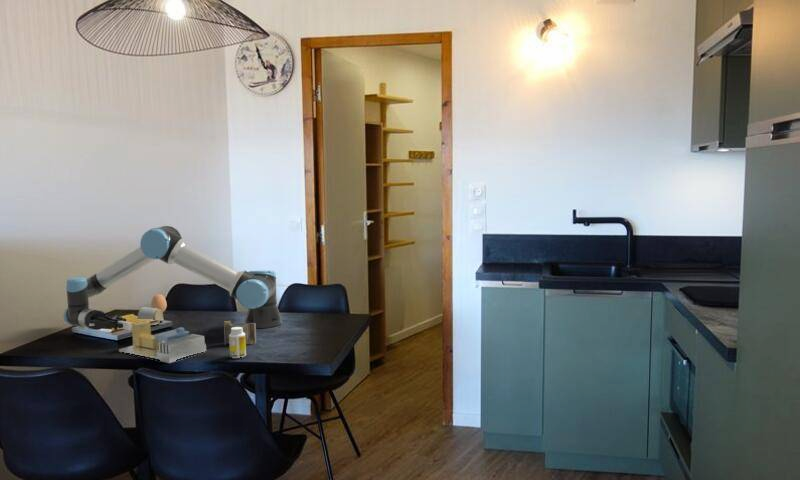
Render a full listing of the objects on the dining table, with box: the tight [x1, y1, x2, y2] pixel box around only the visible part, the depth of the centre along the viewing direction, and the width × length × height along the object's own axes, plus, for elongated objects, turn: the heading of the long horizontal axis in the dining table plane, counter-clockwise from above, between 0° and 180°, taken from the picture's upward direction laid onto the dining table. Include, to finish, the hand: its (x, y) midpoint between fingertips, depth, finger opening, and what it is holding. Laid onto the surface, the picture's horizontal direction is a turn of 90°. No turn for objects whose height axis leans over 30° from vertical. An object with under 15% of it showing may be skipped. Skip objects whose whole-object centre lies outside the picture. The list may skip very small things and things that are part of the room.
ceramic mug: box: [137, 306, 164, 321], centre depth 282 cm, size 11×8×8 cm
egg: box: [150, 293, 168, 314], centre depth 302 cm, size 7×7×9 cm
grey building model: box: [118, 326, 207, 364], centre depth 238 cm, size 28×16×8 cm, turn 57°
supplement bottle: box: [228, 327, 247, 359], centre depth 230 cm, size 6×6×10 cm
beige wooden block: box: [131, 321, 163, 349], centre depth 242 cm, size 11×5×8 cm, turn 57°
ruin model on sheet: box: [223, 320, 257, 346], centre depth 248 cm, size 11×3×10 cm, turn 96°
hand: (130, 326), depth 247 cm, fingers closed
